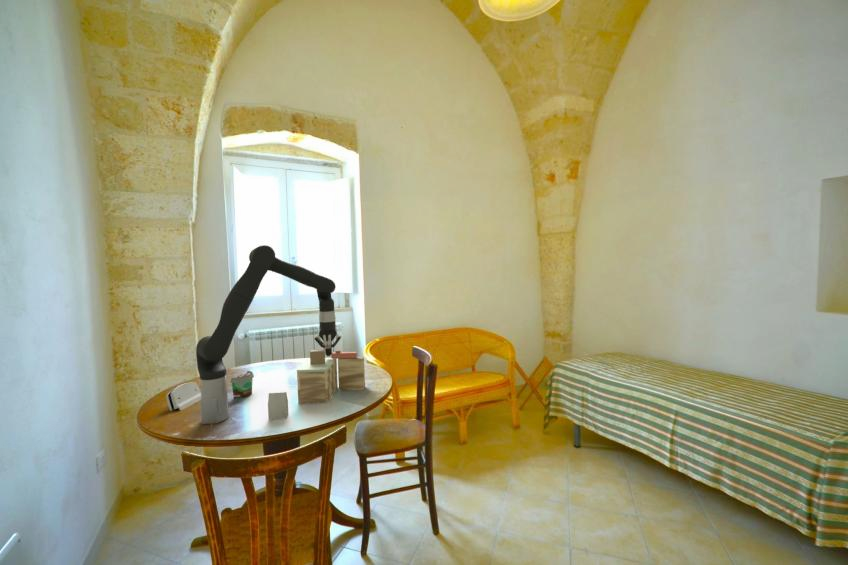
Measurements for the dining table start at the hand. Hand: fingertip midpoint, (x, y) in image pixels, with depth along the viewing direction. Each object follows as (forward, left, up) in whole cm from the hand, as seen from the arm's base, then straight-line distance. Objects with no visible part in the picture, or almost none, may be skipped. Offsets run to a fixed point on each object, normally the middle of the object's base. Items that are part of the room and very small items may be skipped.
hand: (328, 355), depth 182 cm
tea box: (-32, +13, -17) cm, 38 cm away
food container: (-5, +38, -17) cm, 42 cm away
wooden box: (-8, -3, -16) cm, 19 cm away
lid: (-8, +3, -3) cm, 9 cm away
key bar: (0, -8, -1) cm, 8 cm away
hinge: (-13, +62, -17) cm, 65 cm away
